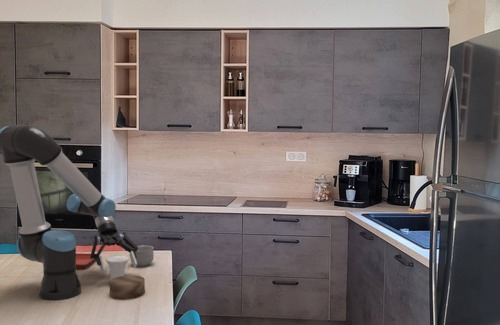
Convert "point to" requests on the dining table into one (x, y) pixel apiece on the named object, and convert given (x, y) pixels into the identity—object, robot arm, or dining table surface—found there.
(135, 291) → the walnut stand
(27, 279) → the dining table surface
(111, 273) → the cup
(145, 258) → the teacup
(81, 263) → the plant saucer
